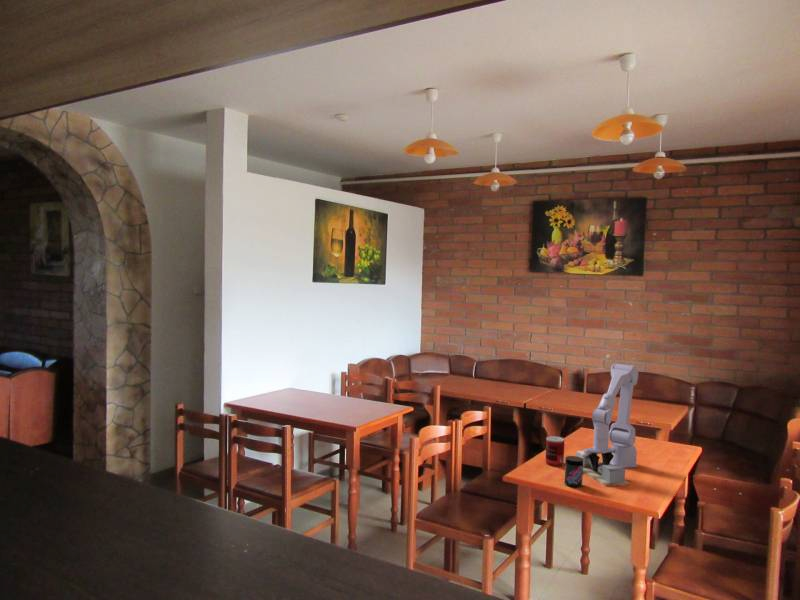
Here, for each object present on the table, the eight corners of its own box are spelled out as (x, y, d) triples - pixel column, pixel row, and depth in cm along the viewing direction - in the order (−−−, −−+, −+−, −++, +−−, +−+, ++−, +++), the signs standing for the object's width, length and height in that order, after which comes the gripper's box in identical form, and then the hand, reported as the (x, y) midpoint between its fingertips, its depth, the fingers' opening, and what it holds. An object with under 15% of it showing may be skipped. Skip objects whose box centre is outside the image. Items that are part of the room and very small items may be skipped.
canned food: (562, 461, 253) (563, 436, 253) (565, 467, 245) (566, 441, 245) (544, 460, 254) (545, 435, 254) (546, 465, 246) (547, 440, 246)
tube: (579, 463, 247) (580, 454, 246) (588, 462, 248) (588, 453, 247) (606, 478, 228) (606, 468, 228) (615, 478, 229) (615, 468, 229)
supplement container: (561, 485, 223) (562, 458, 223) (568, 480, 229) (569, 454, 228) (578, 489, 219) (579, 462, 219) (584, 484, 225) (585, 458, 224)
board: (569, 464, 249) (569, 462, 249) (590, 463, 251) (590, 460, 251) (606, 486, 223) (606, 483, 223) (628, 484, 226) (628, 482, 226)
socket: (601, 478, 229) (602, 465, 229) (616, 477, 231) (617, 464, 230) (609, 483, 224) (610, 469, 224) (624, 482, 225) (625, 468, 225)
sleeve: (575, 463, 247) (576, 451, 247) (589, 462, 249) (590, 450, 249) (582, 467, 242) (582, 454, 242) (596, 466, 244) (596, 453, 244)
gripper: (610, 434, 241) (609, 466, 242) (580, 436, 237) (578, 468, 238) (621, 439, 234) (619, 472, 235) (589, 441, 230) (588, 474, 231)
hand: (599, 470), depth 236 cm, fingers closed on tube, 4 cm apart
